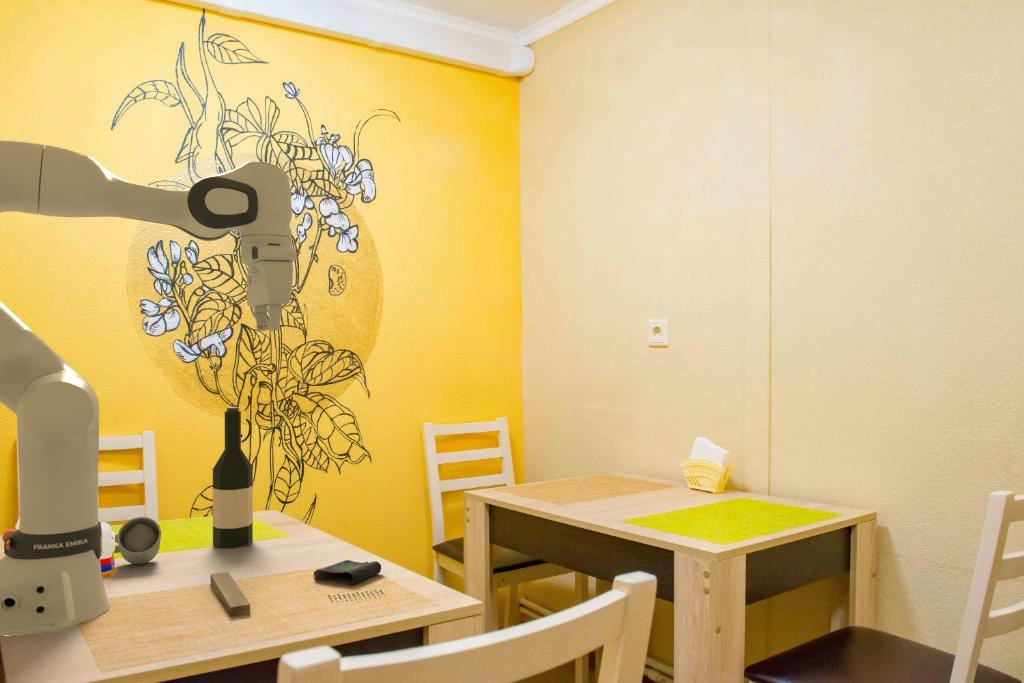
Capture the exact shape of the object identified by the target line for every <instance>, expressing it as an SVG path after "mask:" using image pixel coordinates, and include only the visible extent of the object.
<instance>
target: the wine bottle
mask: <svg viewBox="0 0 1024 683" xmlns="http://www.w3.org/2000/svg"><path fill="white" fill-rule="evenodd" d="M253 469H254V468H253V465H252V463H251V462H250V460H249V459H248V457H247V456H246V454H245V452H244V451H243V450H242V411H241V410H240V408H239V407H238V406H230V407H229V406H228V407H226V411H225V410H224V450H223V451H222V453H221V455H220V457H219V458H218V459H217V461H216V463H215V465H214V466H213V468H212V545H213V546H214V547H217V548H220V549H228V548H229V549H231V548H232V549H234V548H235V549H236V548H240V547H244V546H248V545H251V543H253V540H254V539H253V538H254V537H253V534H254V532H253V531H254V529H253V528H254V526H253V524H254V523H253V521H254V520H253V519H254V517H253V516H254V515H253V514H254V512H253V510H254V508H253V507H254V506H253V498H254V497H253V495H254V494H253V493H254V492H253V491H254V490H253V488H254V487H253V486H254V484H253V482H254V481H253V474H254V473H253V472H254V471H253Z"/></svg>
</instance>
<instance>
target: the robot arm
mask: <svg viewBox="0 0 1024 683" xmlns="http://www.w3.org/2000/svg"><path fill="white" fill-rule="evenodd" d="M291 193H292V192H291V185H290V179H289V177H288V174H287V173H286V171H284V169H282V168H281V167H280V166H278V165H276V164H273V163H270V162H266V161H256V160H251V161H249V160H248V161H247V162H245V163H243V165H240V166H239V167H237V168H235V169H233V170H230V171H226V172H225V173H220V174H215V175H211V176H207V177H206V176H205V177H203V178H201V179H199V180H197V181H196V182H194V183H193V185H192V186H191V187H190V188H188V189H182V190H175V189H167V188H164V187H163V188H162V187H157V186H152V185H151V186H150V185H146V184H142V183H141V184H140V183H136V182H135V183H134V182H130V181H128V180H125V179H122V178H121V177H118V176H116V175H114V174H113V173H112V172H110V171H108V170H107V169H106V168H105V167H103V166H102V165H101V164H100V163H99V162H98V161H97V160H95V159H94V158H93V157H90V156H88V155H86V154H83V153H80V152H76V151H74V150H71V149H67V148H62V147H59V146H52V145H47V144H40V143H34V142H24V141H13V140H0V213H5V212H7V213H10V212H14V213H15V212H19V213H25V214H32V215H40V216H46V217H56V218H57V217H59V218H104V217H105V218H123V219H130V220H137V221H143V222H148V223H149V222H150V223H155V224H163V225H168V226H172V227H174V228H176V229H179V230H180V231H183V233H185V234H187V235H189V236H191V237H193V238H194V239H197V240H201V241H207V242H211V241H218V240H220V239H222V238H225V237H226V236H227V235H229V234H230V232H231V231H237V232H239V233H240V263H241V264H243V265H248V268H247V274H246V305H247V306H248V307H249V308H250V307H251V308H252V307H253V314H254V318H255V325H256V326H255V327H256V328H255V329H256V331H257V332H267V330H268V331H269V332H272V331H273V332H274V331H275V332H278V331H280V330H281V318H282V313H283V305H286V304H289V303H290V302H291V298H292V292H293V277H294V266H293V262H295V261H296V260H297V250H296V248H294V246H293V236H292V232H291V228H290V227H291V226H290V223H291V219H292V215H293V214H292V213H293V210H292V208H293V207H292V194H291ZM267 312H268V314H267ZM267 315H268V316H267ZM267 318H268V320H267ZM0 403H1V404H2V405H4V406H5V407H6V408H8V409H9V410H10V411H12V413H14V415H15V416H16V419H17V420H16V423H17V425H16V426H17V428H16V429H17V431H16V432H17V456H18V459H17V460H18V461H17V462H18V478H19V479H18V481H19V490H18V491H19V496H18V497H19V498H18V499H19V528H18V529H17V530H16V529H14V528H9V529H6V530H5V532H3V533H2V534H3V535H2V537H1V538H2V541H3V551H4V552H3V553H4V556H3V557H2V558H1V559H0V636H4V635H15V634H16V635H17V634H27V635H32V634H31V633H37V634H44V633H43V632H46V633H55V632H54V631H56V632H62V630H63V631H66V630H68V629H71V628H73V627H75V626H76V625H78V624H82V623H84V622H88V621H90V620H93V619H95V618H98V617H100V616H102V615H103V614H105V613H106V612H107V611H108V610H109V609H110V608H111V605H110V602H109V599H108V596H107V593H106V592H107V591H106V589H105V584H104V580H103V574H102V566H101V565H102V564H101V556H102V553H103V552H102V538H103V529H102V523H101V522H100V521H99V464H100V463H99V461H100V460H99V457H100V456H99V453H100V403H99V399H98V397H97V394H96V392H95V390H94V388H93V386H92V385H91V383H90V382H89V381H88V380H87V379H86V378H85V377H83V375H81V374H80V372H78V371H77V370H76V369H75V368H73V366H71V364H69V363H68V362H67V361H66V360H65V359H64V358H63V357H62V356H61V355H60V354H58V353H57V352H56V351H55V350H54V349H53V348H52V347H51V346H49V344H47V342H46V341H44V340H43V339H41V337H39V335H37V334H36V333H35V332H34V331H33V330H32V329H31V328H30V327H29V326H28V325H27V324H25V323H24V322H23V321H22V320H21V319H20V318H19V317H18V316H16V314H15V313H14V312H12V310H11V309H9V307H8V306H6V305H5V304H4V303H3V302H2V301H1V300H0ZM74 625H75V626H74ZM72 626H73V627H72ZM70 627H71V628H70ZM51 631H52V632H51ZM28 633H29V634H28ZM17 636H18V635H17Z"/></svg>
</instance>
